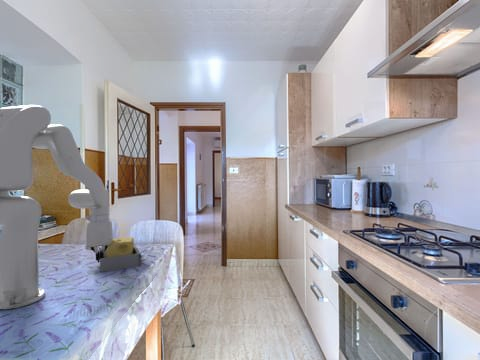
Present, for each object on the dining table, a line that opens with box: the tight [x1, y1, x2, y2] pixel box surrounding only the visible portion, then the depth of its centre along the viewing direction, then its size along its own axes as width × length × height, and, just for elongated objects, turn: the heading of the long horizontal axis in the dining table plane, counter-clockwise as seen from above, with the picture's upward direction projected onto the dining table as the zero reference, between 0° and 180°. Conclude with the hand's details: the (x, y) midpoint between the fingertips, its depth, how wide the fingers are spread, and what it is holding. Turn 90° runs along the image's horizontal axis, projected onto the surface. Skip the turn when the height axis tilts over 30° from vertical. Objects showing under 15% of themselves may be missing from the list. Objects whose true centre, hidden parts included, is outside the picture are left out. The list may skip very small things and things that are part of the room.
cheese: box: [106, 236, 135, 258], centre depth 119 cm, size 10×11×10 cm
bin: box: [98, 243, 142, 273], centre depth 119 cm, size 20×15×5 cm
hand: (99, 261), depth 116 cm, fingers closed
